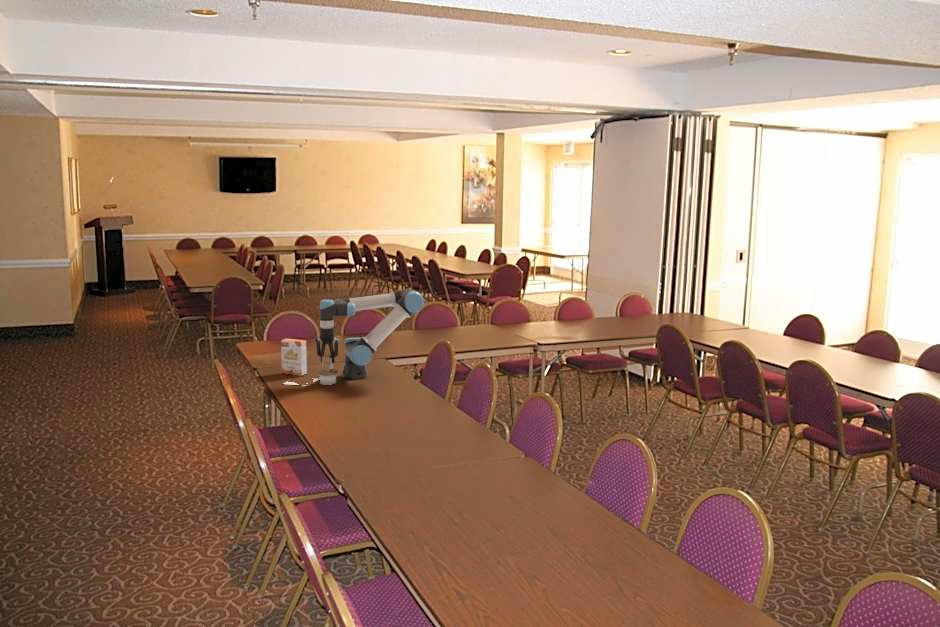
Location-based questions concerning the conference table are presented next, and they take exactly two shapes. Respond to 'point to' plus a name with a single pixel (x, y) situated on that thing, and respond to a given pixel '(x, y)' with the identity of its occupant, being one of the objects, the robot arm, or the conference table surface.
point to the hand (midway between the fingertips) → (327, 368)
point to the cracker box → (294, 356)
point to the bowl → (327, 379)
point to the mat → (298, 384)
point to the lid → (327, 366)
